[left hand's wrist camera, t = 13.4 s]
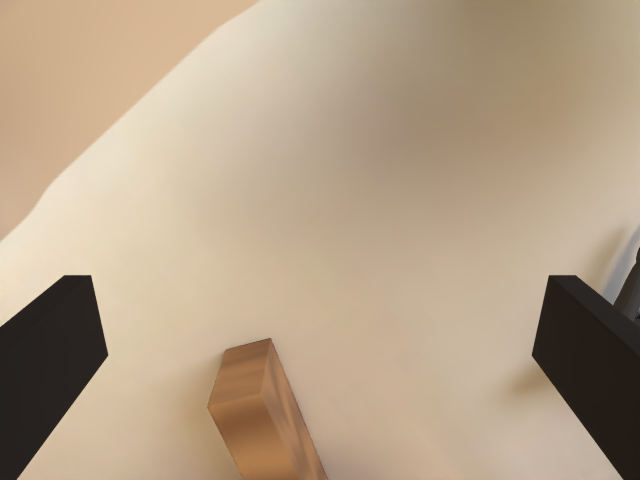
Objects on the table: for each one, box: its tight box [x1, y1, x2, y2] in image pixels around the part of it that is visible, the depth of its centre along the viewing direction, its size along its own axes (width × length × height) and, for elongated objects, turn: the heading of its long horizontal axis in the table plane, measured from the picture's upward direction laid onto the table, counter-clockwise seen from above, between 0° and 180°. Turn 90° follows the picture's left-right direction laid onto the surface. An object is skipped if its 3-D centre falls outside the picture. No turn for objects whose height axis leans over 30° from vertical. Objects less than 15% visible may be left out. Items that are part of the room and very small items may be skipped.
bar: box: [207, 338, 328, 480], centre depth 46 cm, size 22×5×8 cm, turn 17°
